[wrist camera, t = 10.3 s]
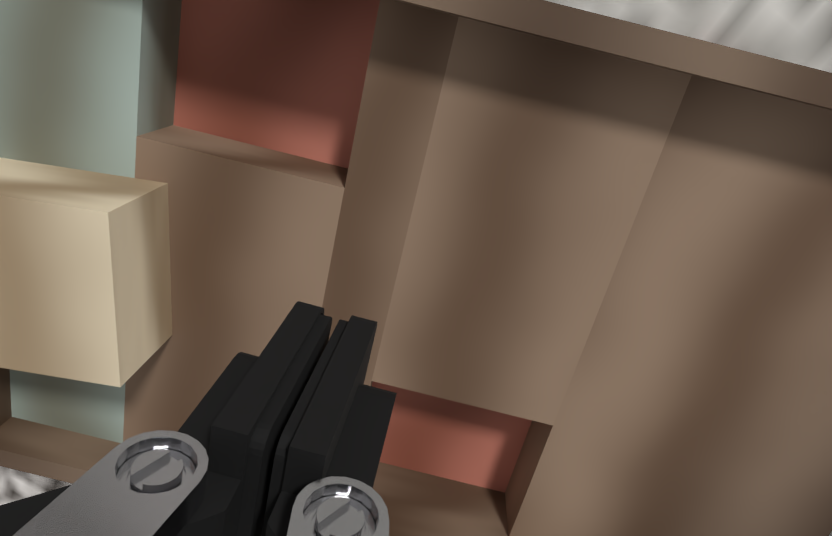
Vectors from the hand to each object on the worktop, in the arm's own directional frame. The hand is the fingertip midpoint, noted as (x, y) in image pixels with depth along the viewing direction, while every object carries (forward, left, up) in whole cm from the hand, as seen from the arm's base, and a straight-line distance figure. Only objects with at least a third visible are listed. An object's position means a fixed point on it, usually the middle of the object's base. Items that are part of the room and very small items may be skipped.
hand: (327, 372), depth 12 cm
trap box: (-3, +1, -8) cm, 9 cm away
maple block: (+8, +2, -6) cm, 10 cm away
